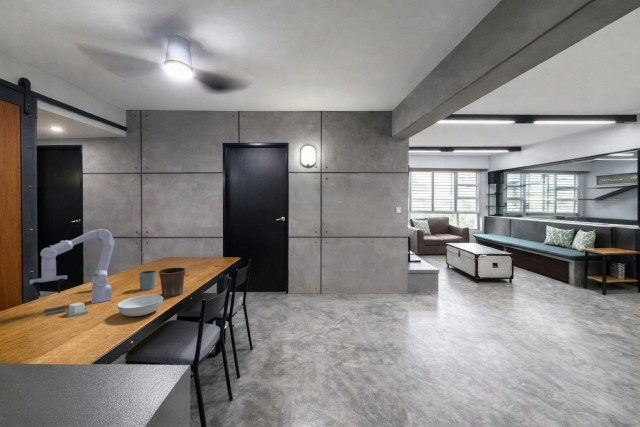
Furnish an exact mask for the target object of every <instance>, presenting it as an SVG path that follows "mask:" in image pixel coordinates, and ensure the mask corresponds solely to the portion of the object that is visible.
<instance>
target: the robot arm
mask: <svg viewBox="0 0 640 427" xmlns="http://www.w3.org/2000/svg"><path fill="white" fill-rule="evenodd" d="M89 240H99V241H100V242H101V243H102V244H103V247H102V251H101V254H100V256H99V257H100V258H99V262H98V265H97V268H96V270H95V271H94V274H93V275H92V277H91V278H90V283H91V284H92V286H91V299H90V300H89V301H90V303H91V304H97V303H101V302H106V301H112V300H113V299H112V295H113V294H112V291H113V290H112V285H111V284H108V282H109V281H108V270H109V265H110V262H111V258H112V254H113V251H114V247H115V243H116V242H115V239H114V237H113V233H111V231H109V230H108V229H106V228H97V229H93V230H90V231H88V232H85V233H84V234H82V235H80V236H78V237H76V238H73V239H70V240H68V239H66V240H60V242H58V243H55V244H53V245H52V244H51V245H49V247H45V248H43V249H42V250H40V253H39V255H40V257H41V263H40V265H41V277H39V278H33V279H30V280H29V285H32V286H33V288H35V290H36V292H37V295H38V297H41V291H40V289H41V288H40V287H41V286H40V283H47V282H52V281H54V282H55V281H57V287H58V288H57V293H58V294H60V293H61V290H62V287H63V285H64V284H65V280H68V275H67V274H66V275H57V260H56V258H57V256H58V255H61V254H63V253H65V252H68V251H70V250H73V247H74V246H76V245H78V244H80V243H83V242H86V241H89Z"/></svg>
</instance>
